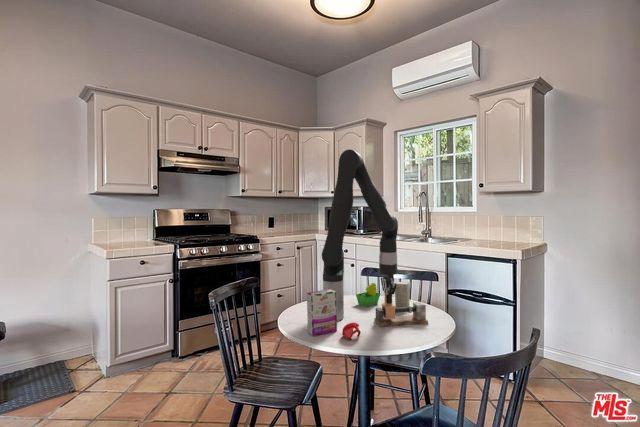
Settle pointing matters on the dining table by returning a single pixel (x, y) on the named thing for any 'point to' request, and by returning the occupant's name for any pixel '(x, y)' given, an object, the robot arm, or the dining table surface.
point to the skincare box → (401, 295)
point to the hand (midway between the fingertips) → (388, 302)
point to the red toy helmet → (350, 330)
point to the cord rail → (414, 319)
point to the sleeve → (388, 309)
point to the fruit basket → (368, 296)
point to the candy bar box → (321, 312)
